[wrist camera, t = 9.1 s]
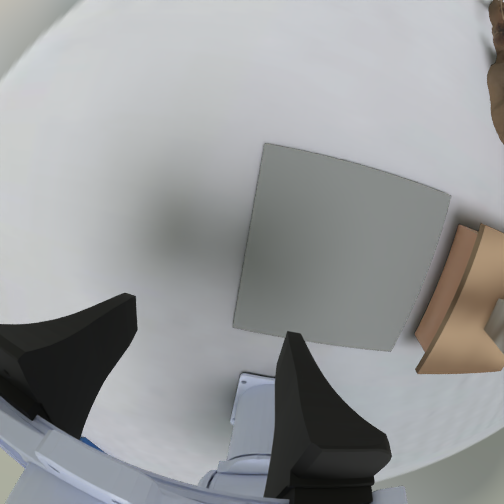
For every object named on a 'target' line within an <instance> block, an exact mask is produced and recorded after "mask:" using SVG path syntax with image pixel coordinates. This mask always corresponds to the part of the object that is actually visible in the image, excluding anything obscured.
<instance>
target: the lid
mask: <svg viewBox="0 0 504 504" xmlns="http://www.w3.org/2000/svg"><path fill="white" fill-rule="evenodd" d="M503 367H504V233H502V232H500V231H498V230H496V229H494V228H491V227H489V226H487V225H484V224H482V223H481V224H480V228H479V231H478V234H477V238H476V241H475V244H474V247H473V250H472V253H471V256H470V258H469V261H468V264H467V266H466V269H465V272H464V274H463V277H462V279H461V282H460V284H459V286H458V289H457V291H456V293H455V296H454V298H453V300H452V302H451V304H450V307H449V309H448V311H447V313H446V315H445V317H444V319H443V321H442V323H441V325H440V327H439V329H438V331H437V333H436V334H435V336H434V338H433V340H432V342H431V344H430V345H429V347H428V349H427V351H426V352H425V354H424V356H423V357H422V359H421V361H420V362H419V364H418V366H417V367H416V369H415V370H416V372H417V374H463V373H482V372H496V371H501V370H502V368H503Z"/></svg>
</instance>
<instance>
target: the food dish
mask: <svg viewBox="0 0 504 504" xmlns="http://www.w3.org/2000/svg"><path fill="white" fill-rule="evenodd" d="M502 1H503V0H493V1H492V3H491V4H490V6H489V17H490V21H491V23H492V25H493V28H492V34H493V37H494V38H493V43H494V46H495V49H496V52H497V58H496V62H495V64H493V65H491V67H490V69H489V71H488V74H487V85H488V89H489V93H490V101H491V116H492V120H493V124H494V127H495V129H496V131H497V133H498V135H499V138H500V140H501V141H502V143H503V144H504V2H502Z"/></svg>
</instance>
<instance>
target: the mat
mask: <svg viewBox="0 0 504 504" xmlns="http://www.w3.org/2000/svg"><path fill="white" fill-rule="evenodd" d="M450 199H451V195H448V194H446V193H443V192H441V191H438V190H435V189H433V188H430V187H427V186H425V185H422V184H419V183H416V182H413V181H411V180H408V179H405V178H402V177H399V176H396V175H393V174H389V173H386V172H383V171H380V170H376V169H373V168H370V167H366V166H363V165H359V164H355V163H352V162H348V161H344V160H340V159H337V158H333V157H328V156H324V155H320V154H316V153H311V152H307V151H302V150H297V149H293V148H288V147H283V146H277V145H272V144H266V143H265V145H264V151H263V156H262V162H261V167H260V173H259V178H258V184H257V190H256V195H255V201H254V207H253V212H252V218H251V224H250V229H249V235H248V241H247V247H246V252H245V258H244V264H243V270H242V276H241V281H240V287H239V293H238V299H237V305H236V311H235V317H234V322H233V328H237V329H242V330H246V331H251V332H256V333H262V334H267V335H272V336H278V337H283V338H285V337H286V333H287V331H291V332H296V333H301V335H302V336H303V339H304V341H307V342H314V343H320V344H327V345H335V346H342V347H350V348H358V349H367V350H377V351H388V352H391V351H392V349H393V347H394V345H395V343H396V341H397V339H398V337H399V335H400V333H401V331H402V329H403V327H404V325H405V323H406V321H407V319H408V317H409V315H410V313H411V310H412V308H413V306H414V304H415V301H416V299H417V297H418V294H419V292H420V290H421V287H422V285H423V282H424V280H425V277H426V275H427V272H428V270H429V267H430V264H431V261H432V259H433V256H434V253H435V250H436V247H437V244H438V241H439V238H440V235H441V231H442V228H443V225H444V221H445V218H446V214H447V211H448V207H449V203H450Z"/></svg>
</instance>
